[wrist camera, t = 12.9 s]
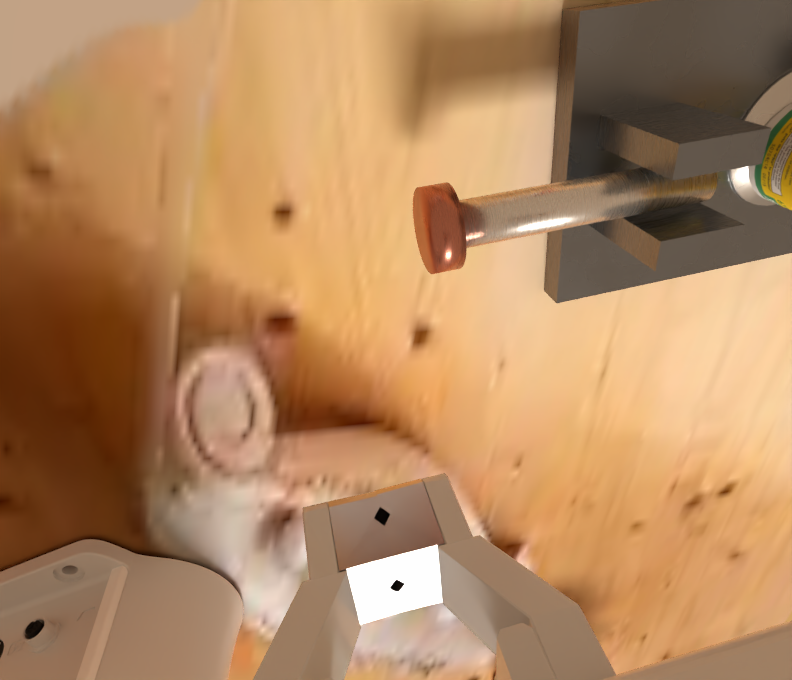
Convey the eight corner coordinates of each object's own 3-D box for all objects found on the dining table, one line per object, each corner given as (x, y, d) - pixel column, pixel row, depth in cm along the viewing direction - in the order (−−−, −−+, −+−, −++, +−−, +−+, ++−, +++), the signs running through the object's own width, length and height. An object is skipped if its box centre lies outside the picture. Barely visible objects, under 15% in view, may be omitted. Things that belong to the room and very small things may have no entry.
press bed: (544, 290, 32) (617, 364, 26) (562, 9, 24) (673, 19, 18) (799, 237, 34) (921, 293, 28) (891, -35, 26) (1088, -39, 20)
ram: (416, 253, 26) (439, 288, 23) (410, 176, 24) (434, 204, 21) (668, 204, 27) (720, 231, 25) (682, 129, 25) (741, 149, 23)
